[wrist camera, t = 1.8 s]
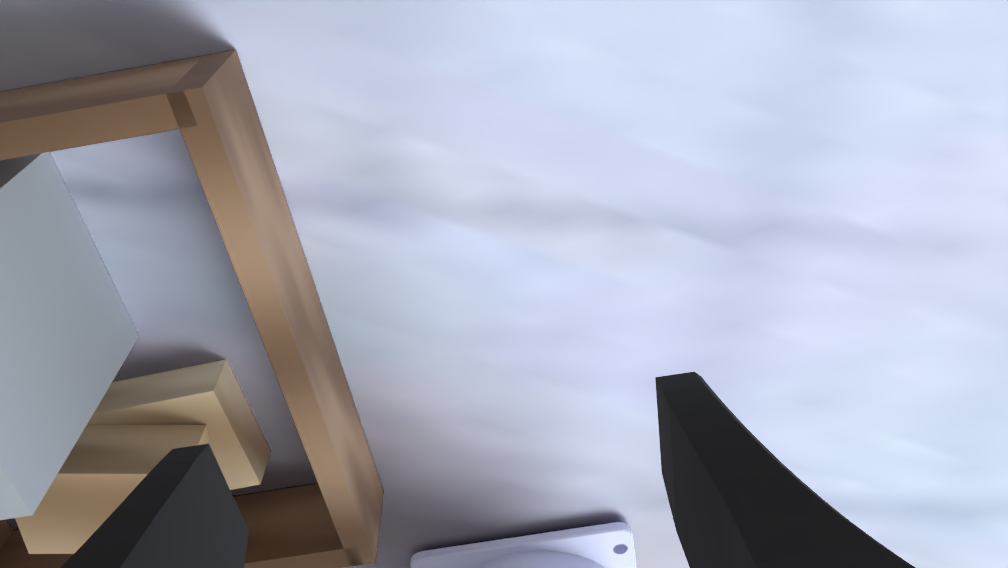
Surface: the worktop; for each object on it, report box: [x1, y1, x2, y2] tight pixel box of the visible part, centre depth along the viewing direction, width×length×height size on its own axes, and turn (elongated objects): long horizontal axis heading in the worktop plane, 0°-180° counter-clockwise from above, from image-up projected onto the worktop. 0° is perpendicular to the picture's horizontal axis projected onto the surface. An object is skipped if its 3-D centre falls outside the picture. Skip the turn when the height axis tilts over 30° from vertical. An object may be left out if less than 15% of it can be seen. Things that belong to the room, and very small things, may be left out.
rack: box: [0, 50, 384, 568], centre depth 23 cm, size 15×14×3 cm
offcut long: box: [87, 359, 271, 490], centre depth 25 cm, size 4×7×2 cm, turn 102°
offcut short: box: [15, 424, 211, 554], centre depth 24 cm, size 3×5×2 cm, turn 88°
